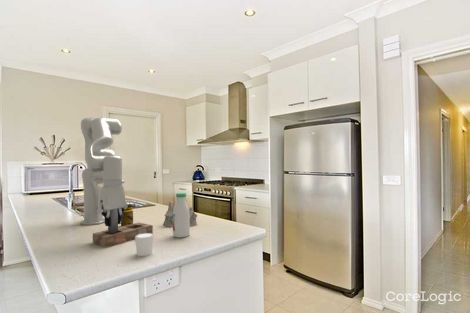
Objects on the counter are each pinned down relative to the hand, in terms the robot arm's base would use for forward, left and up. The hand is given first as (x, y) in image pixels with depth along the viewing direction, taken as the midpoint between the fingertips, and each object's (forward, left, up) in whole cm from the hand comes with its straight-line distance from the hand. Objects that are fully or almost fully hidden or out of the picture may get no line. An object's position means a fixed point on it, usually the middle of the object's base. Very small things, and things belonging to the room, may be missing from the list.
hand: (113, 224), depth 114 cm
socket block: (0, +6, -7) cm, 9 cm away
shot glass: (+24, -1, -8) cm, 25 cm away
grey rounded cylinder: (0, 0, -3) cm, 3 cm away
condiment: (-17, +17, -8) cm, 25 cm away
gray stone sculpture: (+4, +37, -8) cm, 38 cm away
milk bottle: (+19, +23, -8) cm, 31 cm away
